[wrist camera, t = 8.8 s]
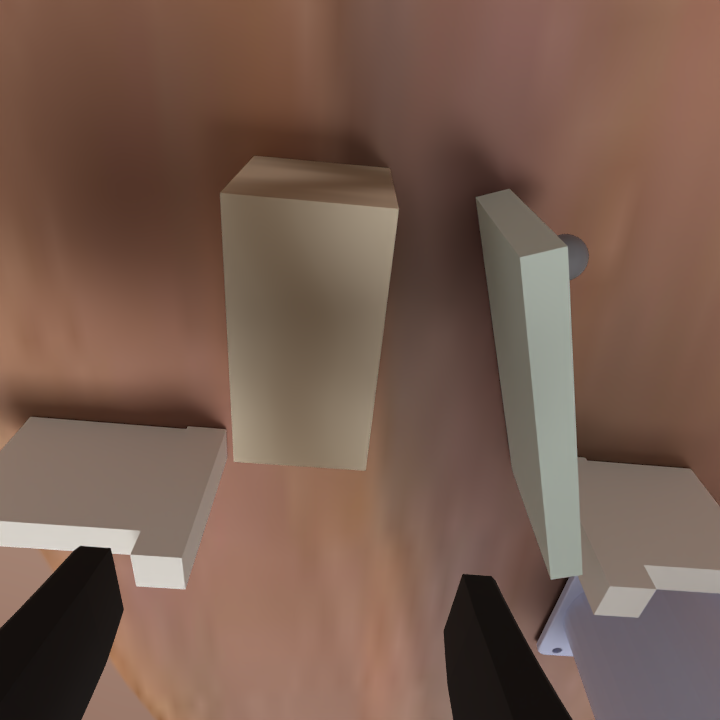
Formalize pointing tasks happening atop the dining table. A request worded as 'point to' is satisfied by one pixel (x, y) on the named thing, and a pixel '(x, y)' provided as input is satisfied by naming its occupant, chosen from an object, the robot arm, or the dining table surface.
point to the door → (536, 366)
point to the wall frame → (204, 470)
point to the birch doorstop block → (306, 307)
